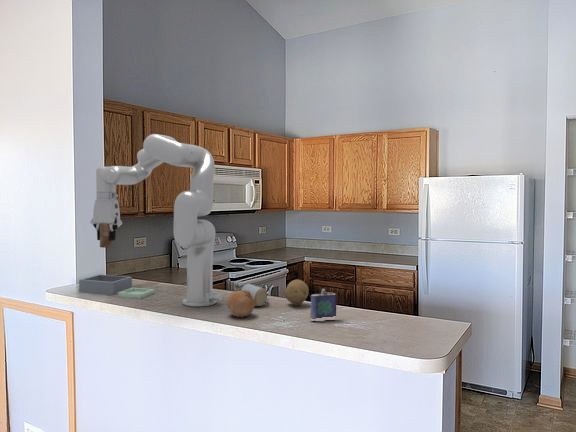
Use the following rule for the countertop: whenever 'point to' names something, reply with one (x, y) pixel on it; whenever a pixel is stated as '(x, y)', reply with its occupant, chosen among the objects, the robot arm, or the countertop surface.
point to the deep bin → (105, 284)
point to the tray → (136, 293)
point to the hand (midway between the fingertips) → (106, 239)
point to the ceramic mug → (257, 294)
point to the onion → (240, 303)
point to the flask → (323, 305)
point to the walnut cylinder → (105, 236)
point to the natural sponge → (296, 292)
